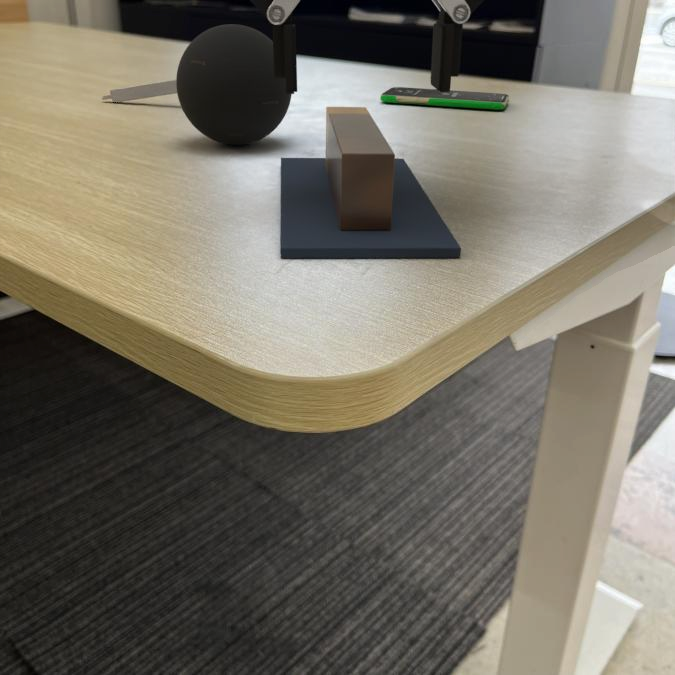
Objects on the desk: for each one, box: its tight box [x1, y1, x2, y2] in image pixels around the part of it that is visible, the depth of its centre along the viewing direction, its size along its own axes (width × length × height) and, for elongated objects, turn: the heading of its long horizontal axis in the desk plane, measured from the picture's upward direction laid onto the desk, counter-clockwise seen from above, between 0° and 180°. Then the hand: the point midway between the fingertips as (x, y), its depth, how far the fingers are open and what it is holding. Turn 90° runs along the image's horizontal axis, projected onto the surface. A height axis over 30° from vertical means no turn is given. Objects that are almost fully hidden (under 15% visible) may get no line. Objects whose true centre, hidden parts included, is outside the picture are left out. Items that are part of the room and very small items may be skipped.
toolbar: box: [325, 106, 396, 230], centre depth 50 cm, size 3×16×4 cm, turn 4°
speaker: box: [175, 23, 292, 146], centre depth 65 cm, size 10×10×10 cm
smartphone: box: [379, 86, 510, 111], centre depth 91 cm, size 8×1×15 cm
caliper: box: [100, 79, 177, 104], centre depth 84 cm, size 20×1×6 cm, turn 76°
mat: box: [279, 157, 462, 259], centre depth 51 cm, size 10×22×1 cm, turn 4°
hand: (366, 89), depth 48 cm, fingers open, 9 cm apart
